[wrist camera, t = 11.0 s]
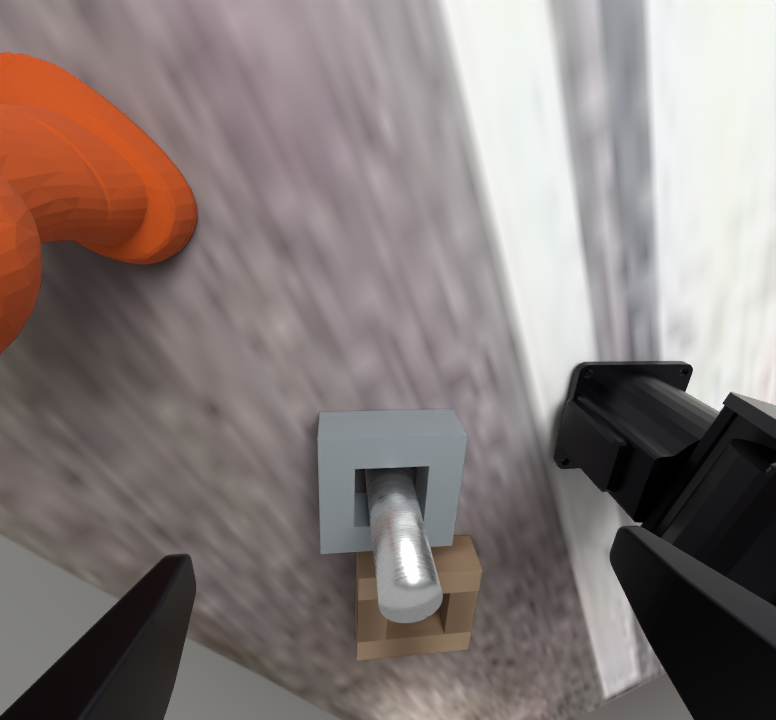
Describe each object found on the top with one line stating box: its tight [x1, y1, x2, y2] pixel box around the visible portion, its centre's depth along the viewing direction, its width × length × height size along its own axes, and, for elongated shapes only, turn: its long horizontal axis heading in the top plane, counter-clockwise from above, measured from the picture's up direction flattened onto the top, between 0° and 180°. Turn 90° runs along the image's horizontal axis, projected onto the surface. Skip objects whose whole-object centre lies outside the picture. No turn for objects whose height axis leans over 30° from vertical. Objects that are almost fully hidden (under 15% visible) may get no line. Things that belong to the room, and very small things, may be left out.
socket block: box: [355, 535, 483, 661], centre depth 25 cm, size 7×7×2 cm
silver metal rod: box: [365, 467, 443, 623], centre depth 18 cm, size 2×2×8 cm
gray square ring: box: [318, 409, 468, 554], centre depth 21 cm, size 7×7×2 cm
